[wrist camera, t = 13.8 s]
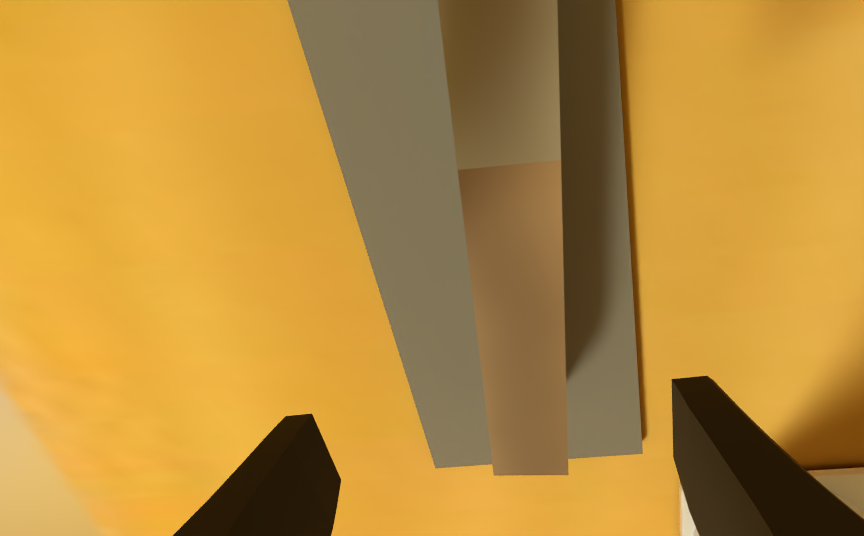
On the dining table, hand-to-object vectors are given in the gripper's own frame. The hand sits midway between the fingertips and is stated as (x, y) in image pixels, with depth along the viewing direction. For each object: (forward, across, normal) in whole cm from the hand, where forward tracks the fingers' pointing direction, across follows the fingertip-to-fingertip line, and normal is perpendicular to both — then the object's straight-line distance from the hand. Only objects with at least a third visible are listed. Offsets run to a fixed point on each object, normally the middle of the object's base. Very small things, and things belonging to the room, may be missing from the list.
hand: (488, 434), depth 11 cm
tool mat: (+9, 0, 0) cm, 9 cm away
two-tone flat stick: (+9, -1, -1) cm, 9 cm away
